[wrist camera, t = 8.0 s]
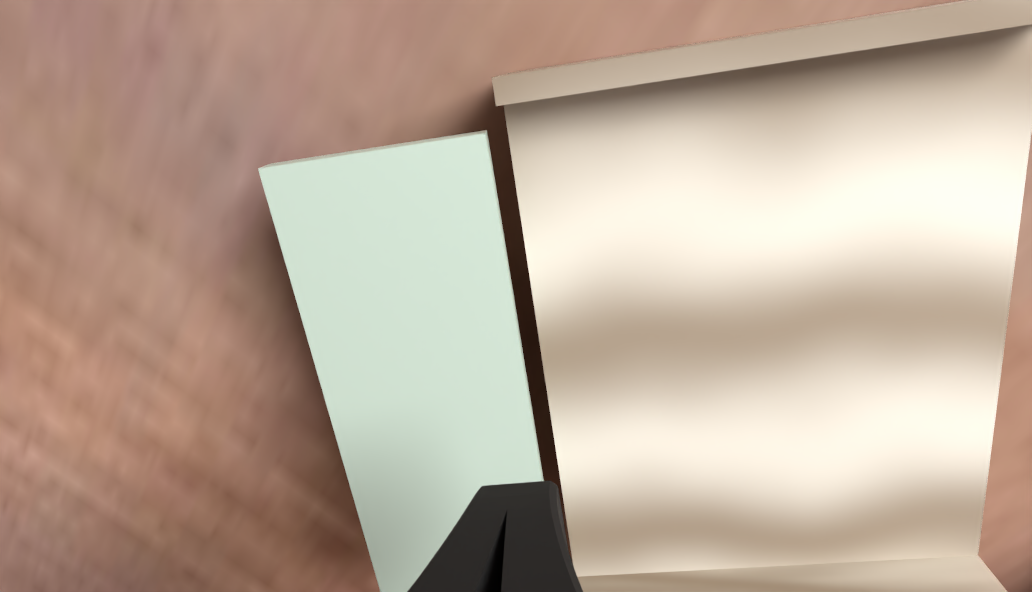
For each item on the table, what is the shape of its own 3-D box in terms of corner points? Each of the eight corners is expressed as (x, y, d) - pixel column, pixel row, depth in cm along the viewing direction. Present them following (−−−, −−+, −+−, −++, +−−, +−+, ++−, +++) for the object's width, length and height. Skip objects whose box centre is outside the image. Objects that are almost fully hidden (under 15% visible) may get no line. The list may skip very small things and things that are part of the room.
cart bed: (931, 514, 21) (1007, 612, 18) (576, 536, 23) (577, 630, 19) (979, -2, 16) (1104, -20, 12) (508, 72, 17) (491, 77, 14)
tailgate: (558, 582, 19) (383, 603, 20) (557, 563, 20) (388, 583, 20) (485, 133, 15) (258, 168, 15) (486, 130, 16) (270, 163, 16)
